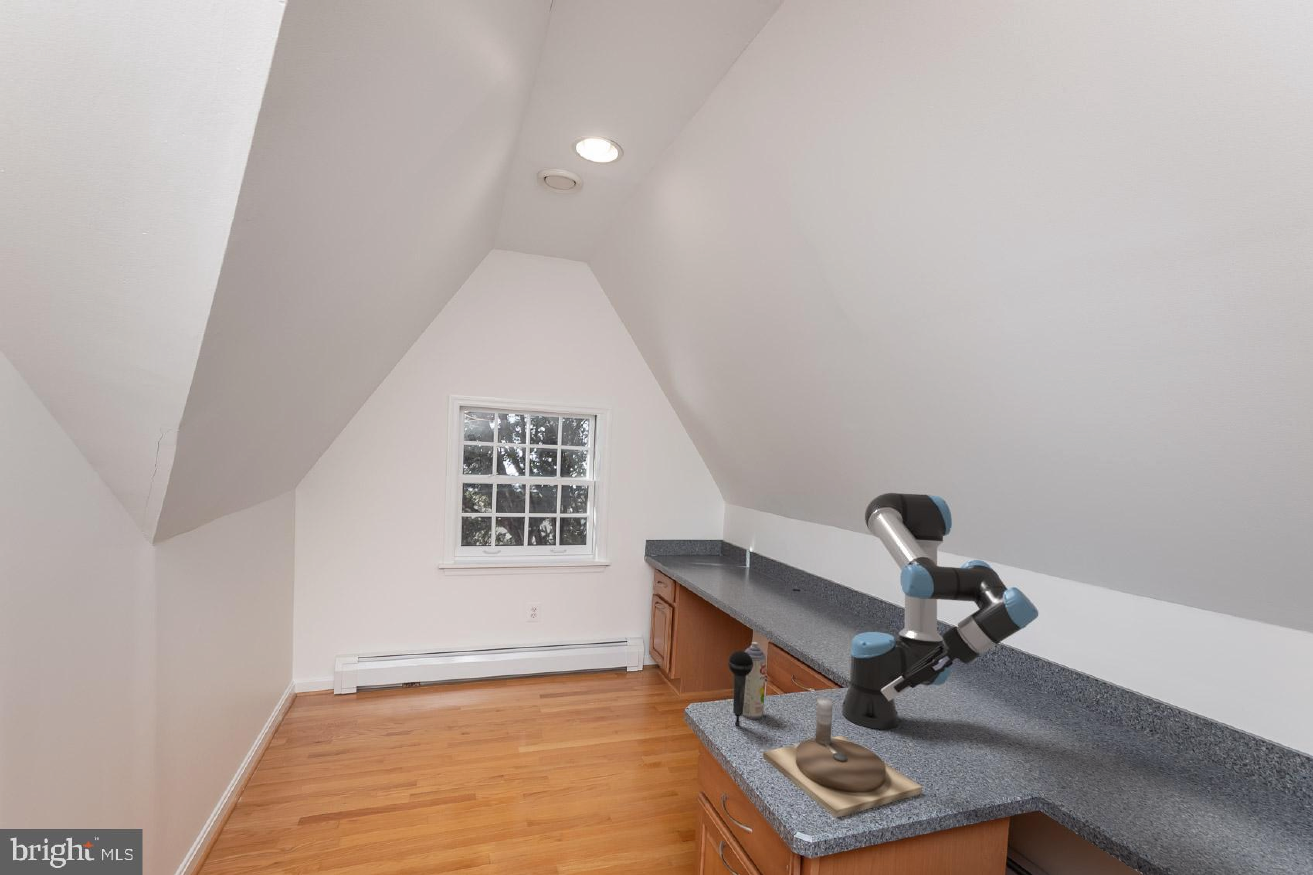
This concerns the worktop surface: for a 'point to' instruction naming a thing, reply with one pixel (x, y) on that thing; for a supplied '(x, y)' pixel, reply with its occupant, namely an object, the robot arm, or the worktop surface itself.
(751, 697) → the aerosol can
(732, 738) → the worktop surface
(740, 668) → the microphone
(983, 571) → the robot arm
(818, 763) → the dial
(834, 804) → the stand plate
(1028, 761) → the worktop surface
